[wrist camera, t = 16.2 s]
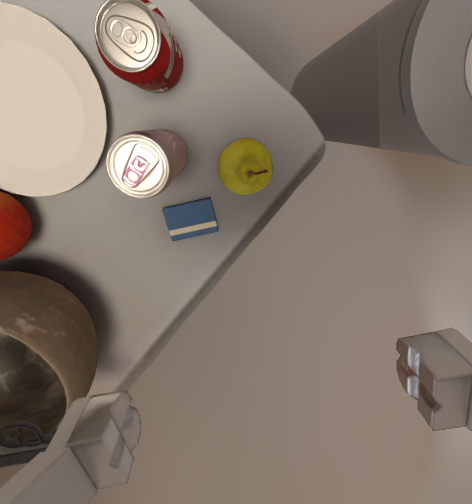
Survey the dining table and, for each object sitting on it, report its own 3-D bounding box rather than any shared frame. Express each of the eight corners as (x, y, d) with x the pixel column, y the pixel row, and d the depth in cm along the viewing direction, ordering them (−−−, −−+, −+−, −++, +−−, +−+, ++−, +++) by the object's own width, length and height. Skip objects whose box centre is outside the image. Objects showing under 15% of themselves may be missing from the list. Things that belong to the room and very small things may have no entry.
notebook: (210, 197, 43) (210, 198, 42) (218, 229, 45) (218, 231, 44) (163, 207, 44) (162, 209, 43) (173, 239, 46) (172, 241, 45)
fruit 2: (224, 193, 43) (226, 217, 32) (212, 144, 41) (209, 151, 30) (272, 182, 43) (289, 201, 32) (262, 131, 40) (278, 134, 29)
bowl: (-45, 353, 52) (-142, 437, 38) (-35, 226, 43) (-155, 274, 29) (98, 388, 56) (58, 474, 42) (132, 279, 48) (96, 342, 34)
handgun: (60, 372, 36) (96, 441, 40) (-83, 398, 36) (-31, 464, 40) (50, 387, 33) (89, 458, 38) (-101, 414, 34) (-45, 482, 38)
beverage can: (135, 157, 41) (91, 174, 27) (158, 119, 39) (124, 116, 25) (172, 184, 42) (149, 212, 29) (196, 148, 41) (184, 160, 27)
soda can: (171, 103, 39) (151, 95, 28) (119, 75, 37) (76, 54, 26) (192, 48, 36) (180, 14, 25) (138, 16, 35) (101, -35, 24)
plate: (-97, 9, 34) (-118, 1, 32) (94, 6, 34) (86, -1, 32) (-29, 195, 42) (-42, 199, 40) (125, 190, 42) (120, 193, 40)
